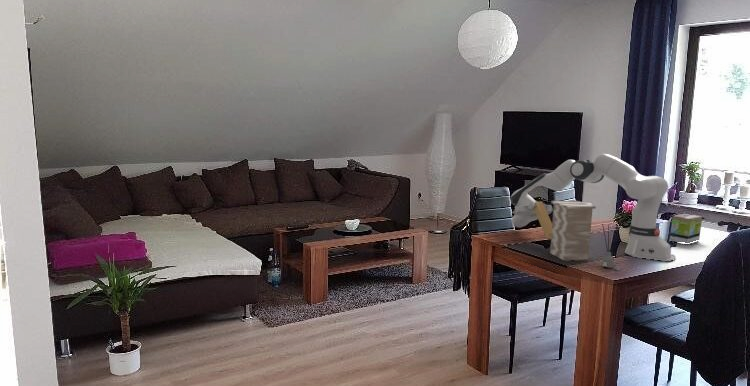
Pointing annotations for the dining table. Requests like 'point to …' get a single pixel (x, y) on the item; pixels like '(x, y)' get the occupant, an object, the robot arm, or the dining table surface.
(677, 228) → the tea box
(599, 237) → the dining table surface
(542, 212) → the ochre bar
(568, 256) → the birch pedestal
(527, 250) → the dining table surface
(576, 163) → the robot arm
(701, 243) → the dining table surface
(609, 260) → the reed diffuser
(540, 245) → the dining table surface
